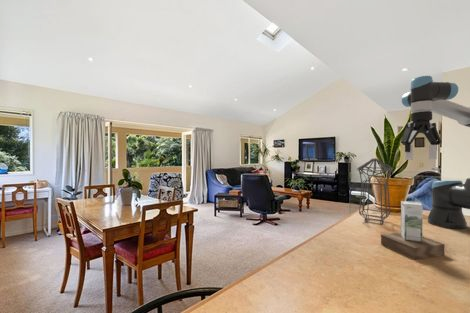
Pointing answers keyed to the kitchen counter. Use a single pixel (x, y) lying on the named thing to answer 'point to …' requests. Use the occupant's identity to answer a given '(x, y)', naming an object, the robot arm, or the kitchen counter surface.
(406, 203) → the syrup box
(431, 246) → the walnut base
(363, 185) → the geometric lantern
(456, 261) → the kitchen counter surface
